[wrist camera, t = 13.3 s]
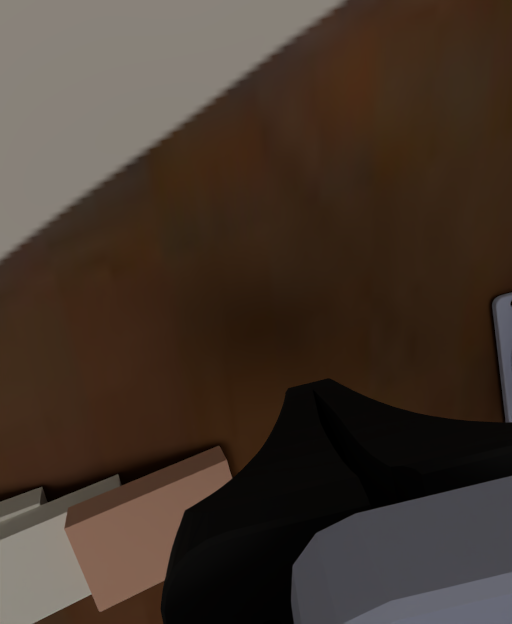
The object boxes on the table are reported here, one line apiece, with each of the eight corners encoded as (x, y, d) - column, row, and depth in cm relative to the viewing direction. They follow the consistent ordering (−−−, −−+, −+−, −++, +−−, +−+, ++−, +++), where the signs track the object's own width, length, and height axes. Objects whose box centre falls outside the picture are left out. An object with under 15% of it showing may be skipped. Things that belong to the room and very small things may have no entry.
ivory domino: (120, 489, 21) (-60, 565, 18) (145, 567, 22) (-21, 650, 19) (118, 473, 22) (-50, 542, 19) (141, 547, 23) (-14, 621, 20)
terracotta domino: (241, 519, 23) (100, 586, 21) (219, 445, 22) (68, 507, 20) (249, 538, 22) (99, 612, 19) (226, 459, 20) (64, 528, 18)
